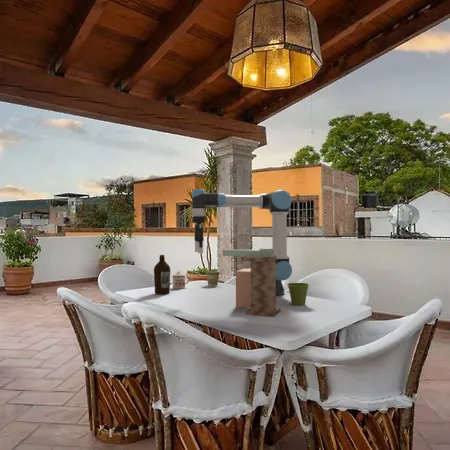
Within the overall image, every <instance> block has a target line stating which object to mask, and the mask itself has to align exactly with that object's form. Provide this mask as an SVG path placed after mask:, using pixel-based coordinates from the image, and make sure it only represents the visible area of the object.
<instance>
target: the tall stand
mask: <svg viewBox="0 0 450 450" xmlns="http://www.w3.org/2000/svg"><path fill="white" fill-rule="evenodd" d="M240 257H241V258H240V260H241V262H250V269H251V308H249V309H248V310H246V311H245V315H246V316H254V317H255V316H256V317H257V316H258V317H270V318H274V317H276V316H277V315H278V314H279V313H280V312H281V311H282V308H281V307H277V295H276V260H277V256H273V257H253V256H240Z"/></svg>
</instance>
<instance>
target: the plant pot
mask: <svg viewBox="0 0 450 450" xmlns="http://www.w3.org/2000/svg"><path fill="white" fill-rule="evenodd" d="M286 286H287V287H288V291H289V295H290V301H291V302H290V303H291V305H292V306H296V307H302V306H305V305H306V299H307V295H308V289H309V286H310V284H309V283H306V282H289V283H287V284H286Z"/></svg>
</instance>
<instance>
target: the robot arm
mask: <svg viewBox="0 0 450 450" xmlns="http://www.w3.org/2000/svg"><path fill="white" fill-rule="evenodd" d="M191 193H192V194H191V213H192V214H191V215H192V216H191V218H192V219H191V221H192V222H191V223H193V224H195V225H194V238H193V239H194V252H195V253H197V254H204V225H203V224H204V223H206V207H208V208H258V209H260V210H268V211H269V214H270V215H271V221H272V222H271V223H272V224H271V225H272V226H271V227H272V228H271V229H272V231H271V232H272V233H271V234H272V235H271V236H272V244H271V245H272V247H271V248H274V253H275V256H277V260H276V296H282V295H285V289H284V285H283V284H284V283H283V282H282V281H286V280H288V279H289V278H290V277H291V275H292V274H293V267H292V265H291V264H290V256H288V252H287V251H288V250H287V248H288V246H287V244H288V243H287V240H288V237H287V235H288V233H287V226H288V225H287V224H288V223H287V215H288V214H289V213H290V206H291V204H292V201H293V200H292V196H291V194H290V193H289V192H288V191H286V190H284V189H277V190H275V191H271V192H268V193H259V194H257V195H256V194H253V195H251V194H250V195H249V194H248V195H246V194H245V195H240V194H239V195H238V194H234V195H233V194H225V193H223V192H222V193H221V192H206V190H205V189H201V188H197V189H196V188H195V189H193V190H192V191H191Z"/></svg>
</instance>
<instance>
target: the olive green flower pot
mask: <svg viewBox="0 0 450 450" xmlns="http://www.w3.org/2000/svg"><path fill="white" fill-rule="evenodd" d="M220 275H221V276H220ZM205 276H206V281H207V285H208V286H209V287H217V286H218V284H219V280H220V279H221V278H222V277H223V273H222V272H221V273H220V271H218V270H209V271H206V272H205Z"/></svg>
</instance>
